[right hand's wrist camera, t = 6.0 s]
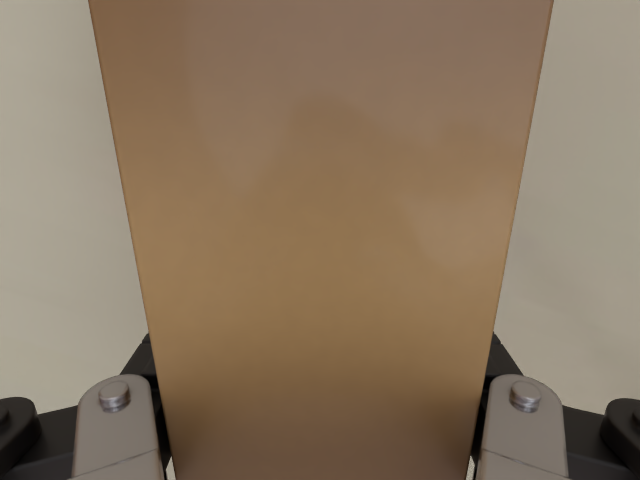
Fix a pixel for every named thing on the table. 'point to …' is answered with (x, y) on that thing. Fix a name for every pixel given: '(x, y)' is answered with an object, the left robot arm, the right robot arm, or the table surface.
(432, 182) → the box
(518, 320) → the table surface
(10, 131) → the table surface
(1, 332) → the table surface
